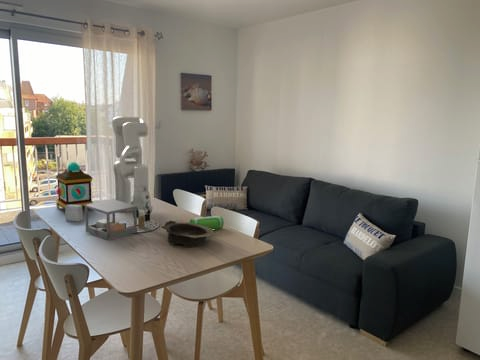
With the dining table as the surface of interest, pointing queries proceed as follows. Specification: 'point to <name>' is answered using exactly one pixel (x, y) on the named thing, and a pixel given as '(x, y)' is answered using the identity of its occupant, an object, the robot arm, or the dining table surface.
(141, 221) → the tied block
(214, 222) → the green tapered cylinder
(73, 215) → the medicine box
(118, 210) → the lane shelf
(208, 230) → the stone bowl
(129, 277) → the dining table surface
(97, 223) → the sage block
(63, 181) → the decorative lantern
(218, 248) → the dining table surface
